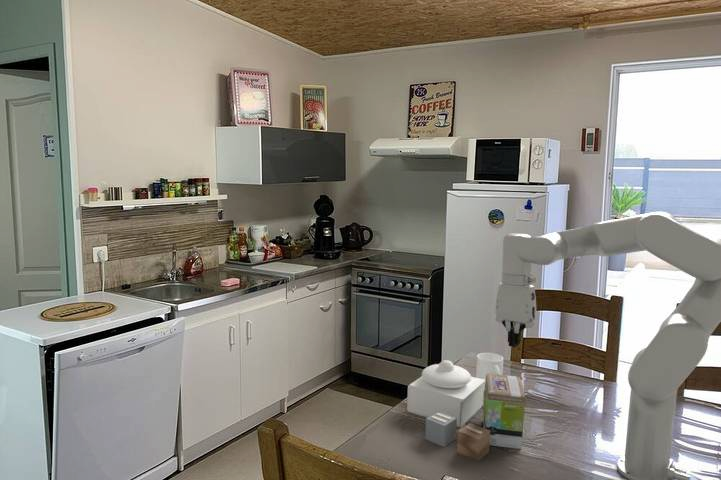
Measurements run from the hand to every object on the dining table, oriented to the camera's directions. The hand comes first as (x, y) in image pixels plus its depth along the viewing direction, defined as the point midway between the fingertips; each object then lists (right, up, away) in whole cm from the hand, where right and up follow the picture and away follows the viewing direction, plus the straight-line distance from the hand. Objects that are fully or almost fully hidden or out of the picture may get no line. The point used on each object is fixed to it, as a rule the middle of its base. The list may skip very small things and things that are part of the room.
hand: (513, 345), depth 144 cm
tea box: (-2, -26, +3) cm, 26 cm away
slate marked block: (-20, -26, 0) cm, 32 cm away
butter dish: (-15, -24, +18) cm, 34 cm away
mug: (+2, -22, +34) cm, 40 cm away
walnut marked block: (-13, -27, -7) cm, 30 cm away
